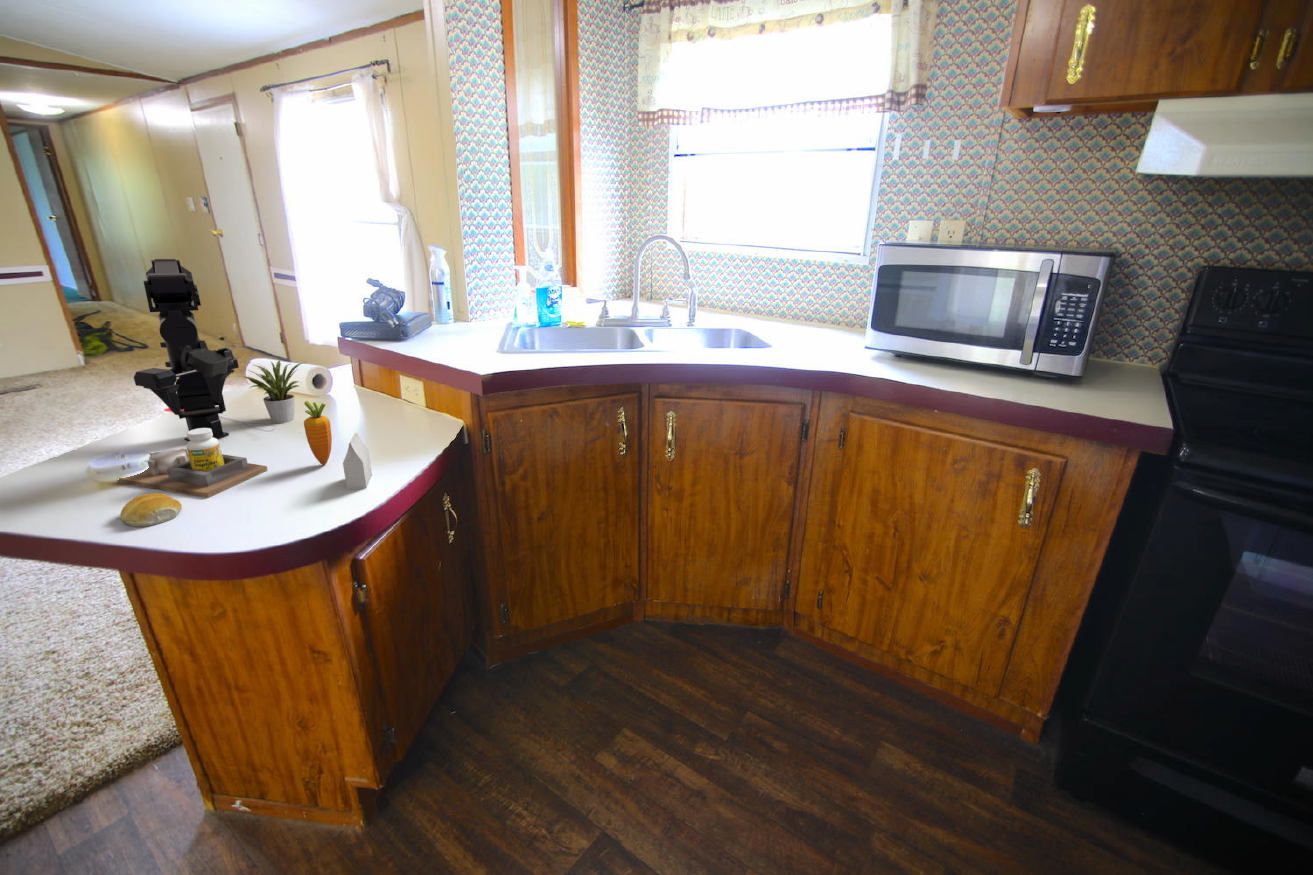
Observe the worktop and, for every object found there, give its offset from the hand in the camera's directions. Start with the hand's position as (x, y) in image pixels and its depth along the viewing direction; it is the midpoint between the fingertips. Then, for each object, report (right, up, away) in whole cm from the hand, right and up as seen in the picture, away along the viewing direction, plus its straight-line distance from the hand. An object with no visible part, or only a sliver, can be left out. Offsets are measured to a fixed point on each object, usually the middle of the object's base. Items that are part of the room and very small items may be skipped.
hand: (198, 408), depth 128 cm
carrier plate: (+2, -14, -4) cm, 15 cm away
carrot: (+25, -13, +4) cm, 28 cm away
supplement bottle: (+6, -14, -5) cm, 16 cm away
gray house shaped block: (+36, -16, -3) cm, 40 cm away
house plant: (0, -1, +31) cm, 31 cm away
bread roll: (+7, -21, -20) cm, 30 cm away
